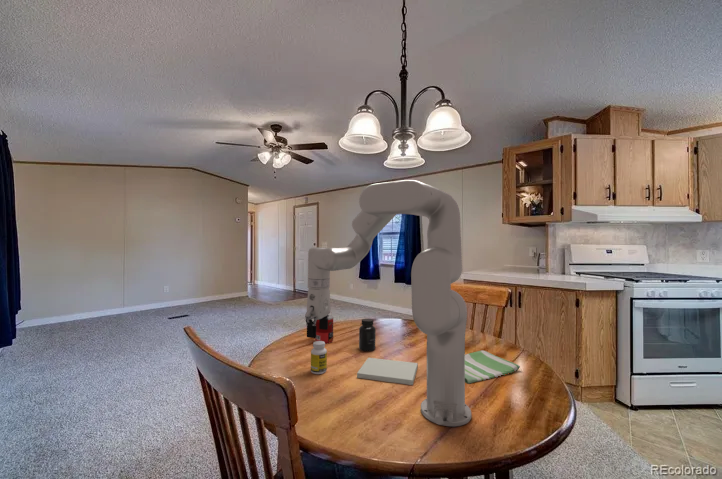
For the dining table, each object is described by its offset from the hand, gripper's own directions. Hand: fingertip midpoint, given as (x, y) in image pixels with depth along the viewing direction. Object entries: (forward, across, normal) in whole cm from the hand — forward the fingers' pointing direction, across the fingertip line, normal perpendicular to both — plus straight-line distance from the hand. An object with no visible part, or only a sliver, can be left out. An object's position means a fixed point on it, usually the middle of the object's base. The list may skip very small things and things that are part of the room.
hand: (317, 333), depth 104 cm
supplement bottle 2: (+13, +26, -11) cm, 31 cm away
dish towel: (+13, +19, -53) cm, 57 cm away
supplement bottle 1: (+13, 0, -1) cm, 13 cm away
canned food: (+14, +30, +10) cm, 34 cm away
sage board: (+12, +6, -24) cm, 27 cm away
